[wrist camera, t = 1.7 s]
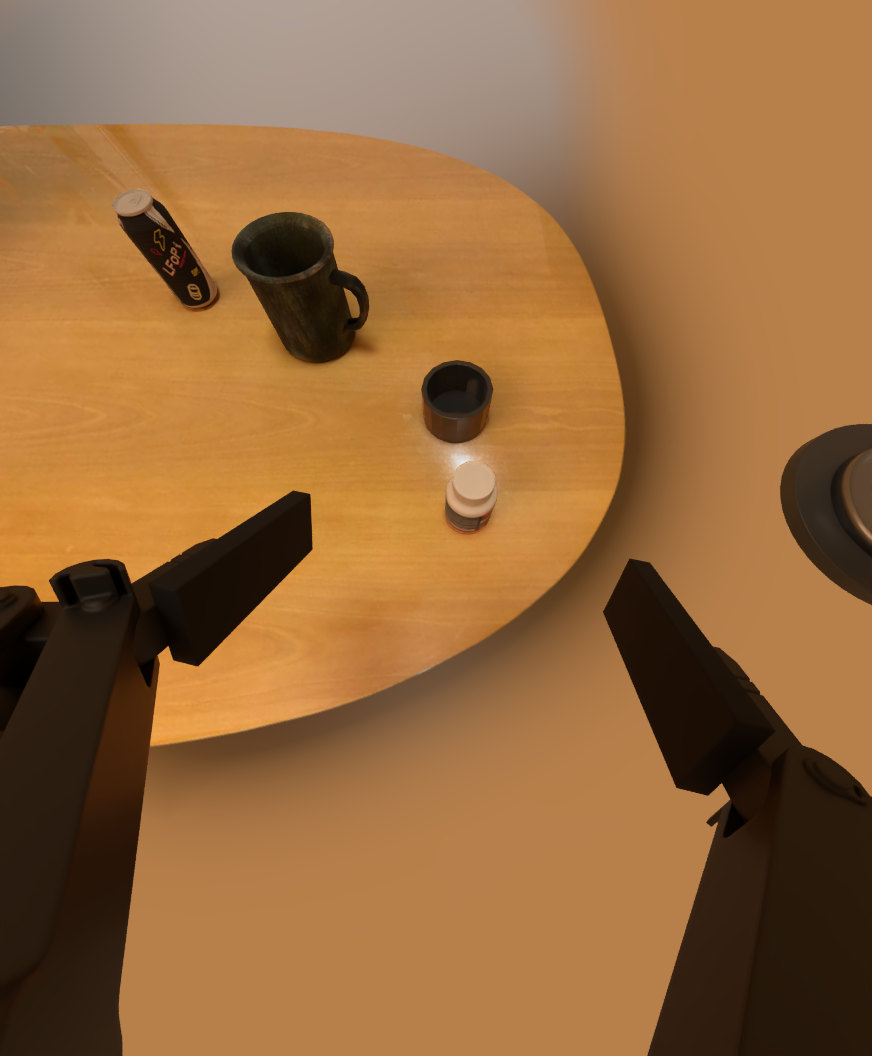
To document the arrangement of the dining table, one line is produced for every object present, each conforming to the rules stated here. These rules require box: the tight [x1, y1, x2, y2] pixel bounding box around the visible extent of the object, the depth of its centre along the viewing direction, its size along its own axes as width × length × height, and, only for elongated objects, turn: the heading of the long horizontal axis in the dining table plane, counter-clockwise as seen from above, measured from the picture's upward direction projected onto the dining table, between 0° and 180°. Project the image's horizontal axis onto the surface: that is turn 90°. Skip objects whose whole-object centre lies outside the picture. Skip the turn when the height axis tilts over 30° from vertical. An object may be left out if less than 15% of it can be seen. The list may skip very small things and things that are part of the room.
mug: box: [232, 212, 369, 362], centre depth 42 cm, size 11×15×12 cm
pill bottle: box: [445, 461, 497, 534], centre depth 35 cm, size 5×5×9 cm
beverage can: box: [112, 189, 217, 308], centre depth 45 cm, size 6×6×12 cm
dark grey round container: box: [421, 360, 493, 443], centre depth 41 cm, size 8×8×5 cm
